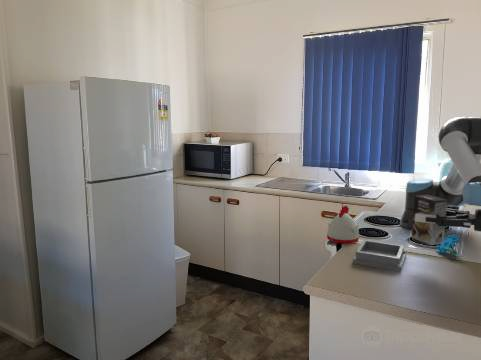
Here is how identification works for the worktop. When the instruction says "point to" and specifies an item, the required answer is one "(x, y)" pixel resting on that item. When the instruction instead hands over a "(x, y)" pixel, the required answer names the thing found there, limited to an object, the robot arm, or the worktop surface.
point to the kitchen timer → (343, 228)
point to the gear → (448, 245)
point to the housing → (380, 255)
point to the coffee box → (429, 231)
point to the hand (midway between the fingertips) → (416, 213)
